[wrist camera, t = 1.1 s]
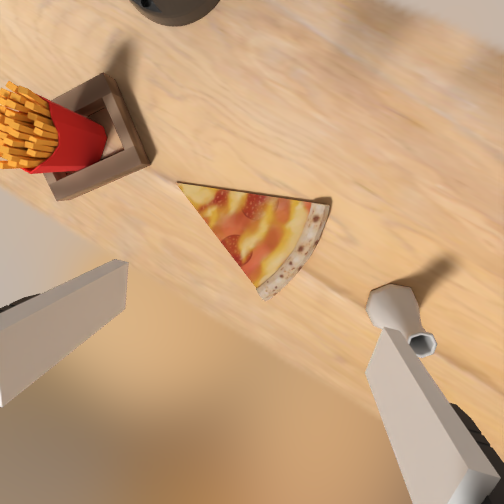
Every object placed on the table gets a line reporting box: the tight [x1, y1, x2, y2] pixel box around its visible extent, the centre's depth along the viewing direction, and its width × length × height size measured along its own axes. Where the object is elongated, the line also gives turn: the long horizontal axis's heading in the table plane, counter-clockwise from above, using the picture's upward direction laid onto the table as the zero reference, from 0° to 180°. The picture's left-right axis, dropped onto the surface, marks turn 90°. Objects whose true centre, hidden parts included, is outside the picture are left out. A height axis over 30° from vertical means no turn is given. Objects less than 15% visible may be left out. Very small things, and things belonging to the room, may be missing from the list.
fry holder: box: [43, 73, 150, 201], centre depth 39 cm, size 12×15×2 cm
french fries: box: [0, 81, 107, 174], centre depth 34 cm, size 9×4×13 cm, turn 151°
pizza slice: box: [176, 183, 330, 301], centre depth 39 cm, size 16×22×2 cm
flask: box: [365, 284, 437, 358], centre depth 35 cm, size 7×7×10 cm
